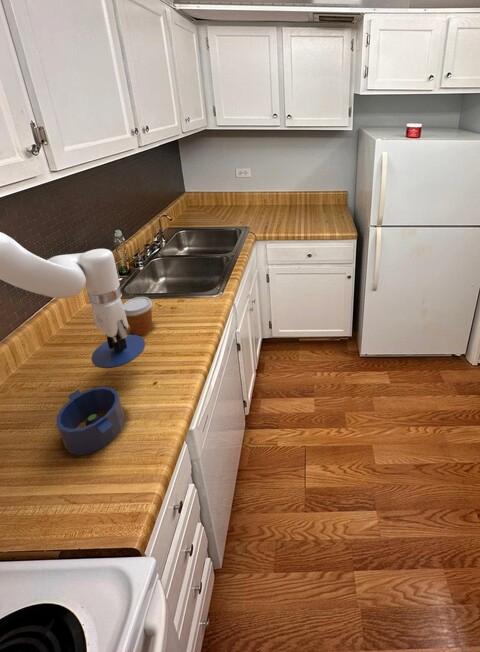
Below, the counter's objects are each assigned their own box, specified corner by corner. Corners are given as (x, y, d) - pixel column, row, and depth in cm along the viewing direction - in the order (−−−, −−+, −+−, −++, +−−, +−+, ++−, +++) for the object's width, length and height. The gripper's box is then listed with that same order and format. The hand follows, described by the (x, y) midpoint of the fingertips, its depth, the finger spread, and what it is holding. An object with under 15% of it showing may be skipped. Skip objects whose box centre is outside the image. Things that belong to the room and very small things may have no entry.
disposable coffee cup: (122, 335, 118) (114, 307, 113) (145, 320, 126) (139, 293, 121) (140, 343, 114) (133, 314, 109) (163, 327, 122) (157, 300, 117)
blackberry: (92, 439, 81) (87, 426, 79) (86, 432, 83) (81, 418, 81) (106, 429, 84) (102, 415, 82) (100, 422, 86) (96, 408, 84)
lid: (106, 377, 88) (102, 359, 86) (83, 356, 95) (78, 339, 93) (154, 349, 99) (151, 332, 97) (130, 332, 106) (127, 315, 104)
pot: (85, 475, 74) (76, 449, 71) (52, 432, 83) (43, 407, 80) (140, 431, 84) (134, 407, 81) (105, 398, 93) (98, 374, 90)
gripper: (76, 290, 91) (91, 344, 98) (105, 310, 83) (119, 368, 89) (105, 279, 97) (117, 331, 103) (134, 297, 89) (146, 352, 95)
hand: (118, 347), depth 96 cm, fingers closed on lid, 2 cm apart
